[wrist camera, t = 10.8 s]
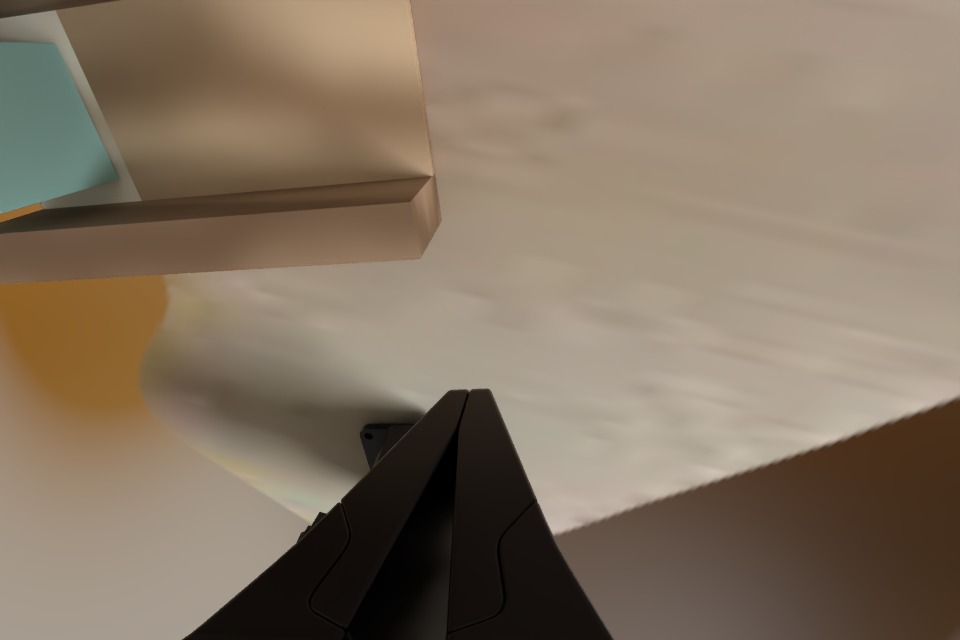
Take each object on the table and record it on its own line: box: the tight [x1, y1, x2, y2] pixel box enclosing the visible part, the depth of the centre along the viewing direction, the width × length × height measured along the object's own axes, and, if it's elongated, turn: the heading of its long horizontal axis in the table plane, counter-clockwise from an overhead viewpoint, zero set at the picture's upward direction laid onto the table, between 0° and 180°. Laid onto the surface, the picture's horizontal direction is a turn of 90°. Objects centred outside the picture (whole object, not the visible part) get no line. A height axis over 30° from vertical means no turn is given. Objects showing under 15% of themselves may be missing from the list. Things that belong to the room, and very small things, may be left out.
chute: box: [0, 0, 442, 284], centre depth 17 cm, size 11×18×4 cm, turn 96°
